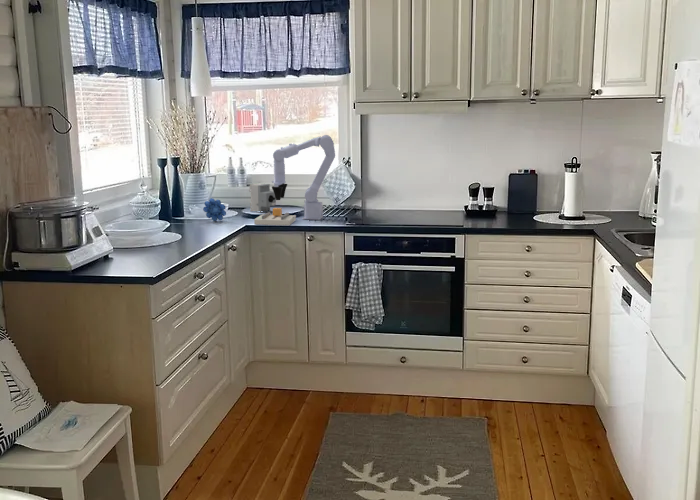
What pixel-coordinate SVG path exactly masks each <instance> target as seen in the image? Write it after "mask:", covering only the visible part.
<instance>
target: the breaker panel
mask: <svg viewBox="0 0 700 500" xmlns="http://www.w3.org/2000/svg"><path fill="white" fill-rule="evenodd" d="M296 217H297V215H295V214H294V215H292V214H290V212H288V211H287V212H285V213H284V214H282V215H281V216H273V214H271V211H267V212H265V214H260V215H259V216H257V217H256V218H254V225H265V226H268V225H269V226H290V225H292V224H293V223H294V222H295V221H296V220H297V218H296Z"/></svg>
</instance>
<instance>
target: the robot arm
mask: <svg viewBox="0 0 700 500" xmlns="http://www.w3.org/2000/svg"><path fill="white" fill-rule="evenodd" d="M312 147H316V148H317V147H318V148H320V147H321V149H322V150H324V151H323V152H324V155H325V156H324V159H323V161H322V163H321V165H320V167H318V168H319V169H318V170H317V173H316V175H315V176H314V179H313V181H312V182H311V184H310V186H309V187H308V188H307V189H306V190H305V193H304V199H305V200H304V202H303V203H304V217H302V220H315V221H316V220H319V221H320V220H322V219H323V218H324V212H323V211H324V209H323V208H324V207H323V201H319V200H318V199H317V198H318V192H319V190H320V188H321V185H322V184H323V181H324V180H325V178H326V176H327V173H328V172H329V169H330V168H331V166H332V164H333V161H334V160H335V158H336V151H335V143H334V140H333V138H332V136H330V135H328V134H324V135H322V136H317V137H313V138H311V139H309V140H306V141H304V142H302V143H299V144H296V143H289V144H288V145H286V146H284V147H283V146H281V147H280V148H278V149H276V150H275V151H274V152H273V155H272V156H273V157H272V158H273V180H272V181H271V183H273V185H272V186H271V189H272V191H274V194H275V198H276V201H281V199H284V198H285V194H286V189H287V187H288V183H286V163H285V159H289V158H291V157H293V156H296V155H299V152H301V151H302V150H306V149H309V148H312Z"/></svg>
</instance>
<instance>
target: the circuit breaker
mask: <svg viewBox="0 0 700 500" xmlns="http://www.w3.org/2000/svg"><path fill="white" fill-rule="evenodd" d="M270 185H271V184H270V183H266V182H265V183H263V182H258V183H251V184H249V188H248V189H249V193H250V203H249V209H250V210H249V211H250V212H252V211H260V212H261V211H267V212H269V211H268V210H270V211H271V207H273V206H276V205H277V200H276V198H275V194H274V191H273V190H271V188H270Z"/></svg>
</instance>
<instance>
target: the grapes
mask: <svg viewBox="0 0 700 500" xmlns="http://www.w3.org/2000/svg"><path fill="white" fill-rule="evenodd" d="M202 210H203V212H204V213H206V214H205V216H206V218H208V219H211V220H212V222H216V221H222V220H223V219H224V216H225V217H226V215H227V212H226V205H225V204H223V203H222V202H221V200H220V199H216V200H215V199H214V198H212V197H211V198H209V200H206V201H204V207H203V209H202Z"/></svg>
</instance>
